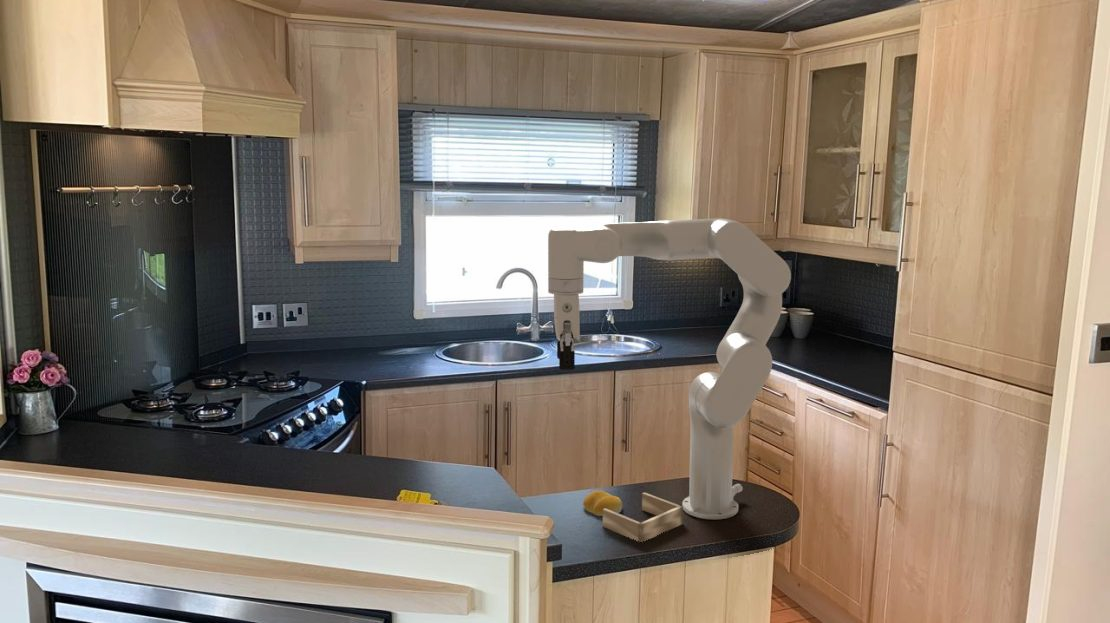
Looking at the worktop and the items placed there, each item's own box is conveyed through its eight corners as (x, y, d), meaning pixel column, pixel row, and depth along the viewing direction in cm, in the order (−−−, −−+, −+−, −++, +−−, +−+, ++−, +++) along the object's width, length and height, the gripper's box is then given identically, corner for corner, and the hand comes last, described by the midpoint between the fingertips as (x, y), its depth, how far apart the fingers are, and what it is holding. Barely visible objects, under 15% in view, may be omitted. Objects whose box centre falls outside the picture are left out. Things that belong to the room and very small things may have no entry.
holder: (644, 508, 197) (644, 492, 197) (682, 523, 189) (683, 506, 189) (602, 526, 188) (602, 509, 188) (641, 543, 180) (641, 525, 180)
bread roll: (604, 521, 192) (604, 504, 191) (577, 509, 198) (577, 492, 198) (630, 511, 197) (630, 494, 196) (603, 499, 204) (603, 483, 203)
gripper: (586, 291, 176) (586, 373, 179) (580, 279, 193) (579, 354, 196) (549, 292, 176) (549, 373, 179) (546, 279, 193) (546, 354, 196)
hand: (565, 363), depth 187 cm, fingers open, 9 cm apart
